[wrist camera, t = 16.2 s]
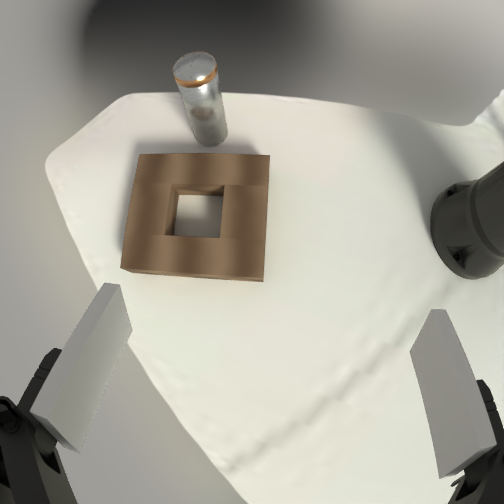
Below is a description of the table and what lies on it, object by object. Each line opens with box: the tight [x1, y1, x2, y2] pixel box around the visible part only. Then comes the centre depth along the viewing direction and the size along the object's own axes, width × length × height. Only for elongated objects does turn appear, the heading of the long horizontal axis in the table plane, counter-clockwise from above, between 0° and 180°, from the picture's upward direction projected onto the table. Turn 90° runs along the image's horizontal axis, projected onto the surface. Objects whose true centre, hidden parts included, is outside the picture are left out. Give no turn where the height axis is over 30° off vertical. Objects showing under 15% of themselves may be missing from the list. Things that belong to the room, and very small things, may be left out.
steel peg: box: [172, 52, 228, 146], centre depth 39 cm, size 5×5×15 cm
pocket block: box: [120, 153, 270, 282], centre depth 42 cm, size 18×16×4 cm
